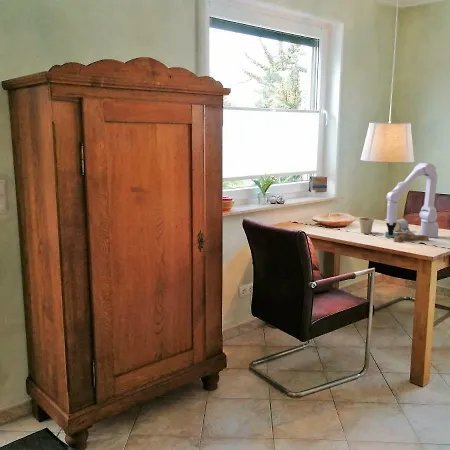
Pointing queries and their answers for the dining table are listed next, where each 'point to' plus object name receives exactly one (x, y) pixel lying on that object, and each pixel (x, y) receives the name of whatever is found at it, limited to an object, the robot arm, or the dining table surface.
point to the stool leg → (394, 234)
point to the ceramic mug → (401, 226)
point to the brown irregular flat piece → (410, 237)
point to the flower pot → (366, 224)
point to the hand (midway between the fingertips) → (390, 235)
